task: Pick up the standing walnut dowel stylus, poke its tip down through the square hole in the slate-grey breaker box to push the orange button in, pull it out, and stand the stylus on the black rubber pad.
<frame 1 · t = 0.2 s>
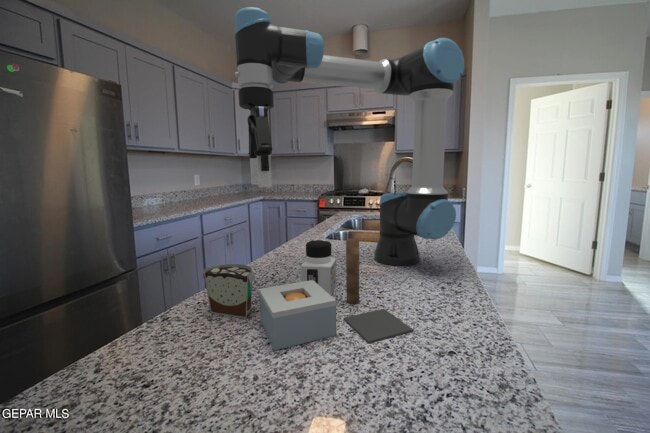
hand: (260, 185, 72), 28 cm above the countertop, fingers open, 13 cm apart
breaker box: (296, 327, 62), on the countertop
button: (295, 303, 62), point 5 cm above the countertop, slide at 0.0 cm
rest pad: (376, 325, 63), on the countertop
container: (319, 290, 82), on the countertop
stylus: (352, 301, 74), on the countertop
food container: (236, 310, 71), on the countertop
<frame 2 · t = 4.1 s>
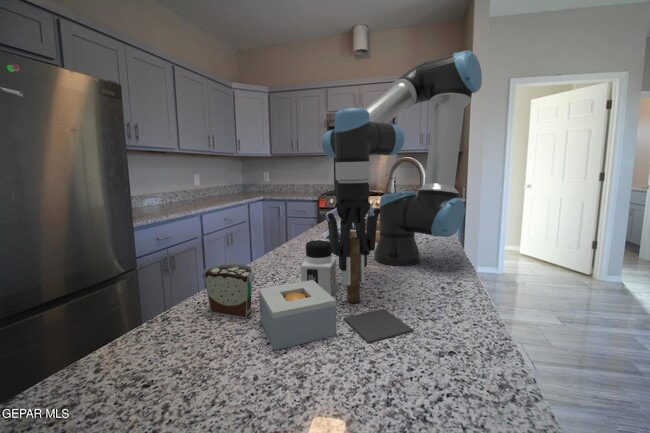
hand: (353, 281, 73), 5 cm above the countertop, fingers closed on stylus, 3 cm apart
stylus: (353, 300, 74), on the countertop, touching gripper
everything else where it was.
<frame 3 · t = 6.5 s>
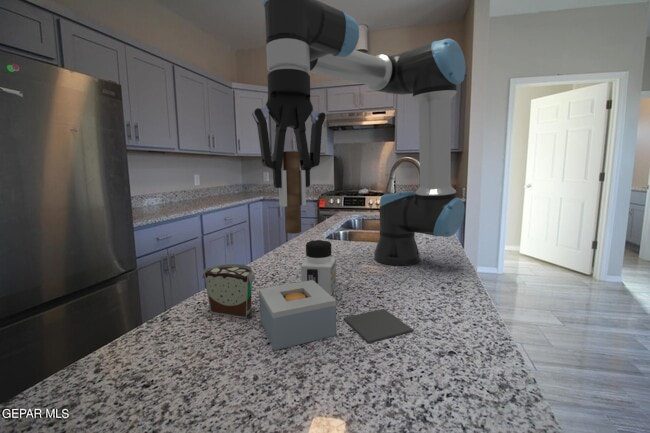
hand: (292, 204, 59), 25 cm above the countertop, fingers closed on stylus, 3 cm apart
stylus: (293, 231, 59), point 19 cm above the countertop, touching gripper
everything else where it was.
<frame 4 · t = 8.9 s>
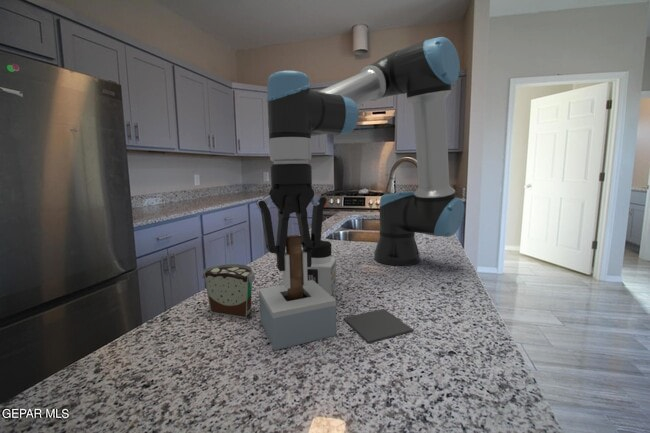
hand: (295, 284, 61), 9 cm above the countertop, fingers closed on stylus, 3 cm apart
button: (296, 318, 62), point 2 cm above the countertop, slide at 3.0 cm
stylus: (295, 310, 62), point 4 cm above the countertop, touching gripper
everything else where it was.
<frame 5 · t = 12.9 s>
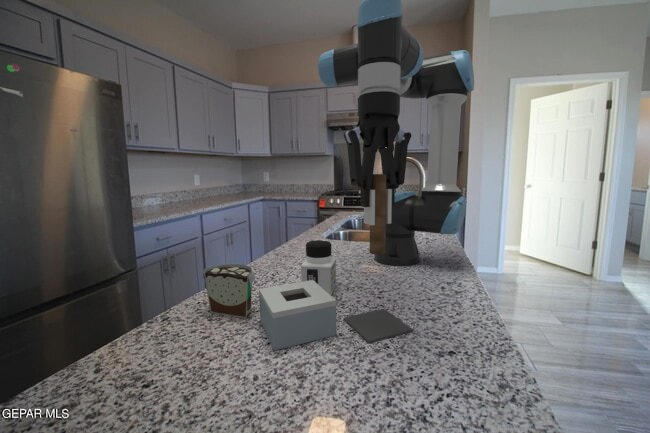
hand: (377, 223, 59), 21 cm above the countertop, fingers closed on stylus, 3 cm apart
stylus: (377, 252, 60), point 15 cm above the countertop, touching gripper
everything else where it was.
when the fingers open (6 cm above the countertop, at t = 15.7 s): stylus stays where it is, resting on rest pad.
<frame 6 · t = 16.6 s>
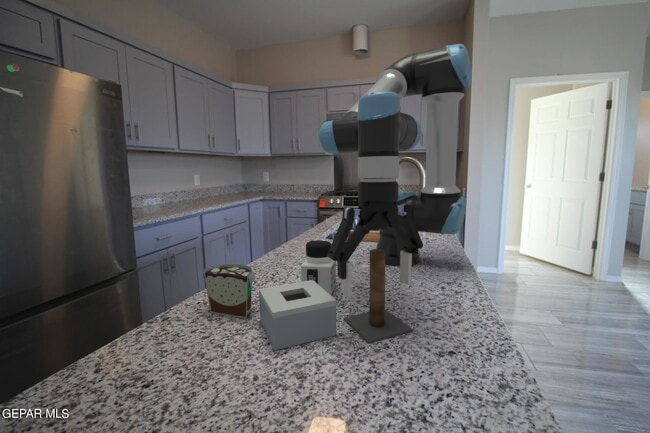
hand: (377, 288, 62), 8 cm above the countertop, fingers open, 13 cm apart
stylus: (376, 323, 63), resting on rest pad
everything else where it was.
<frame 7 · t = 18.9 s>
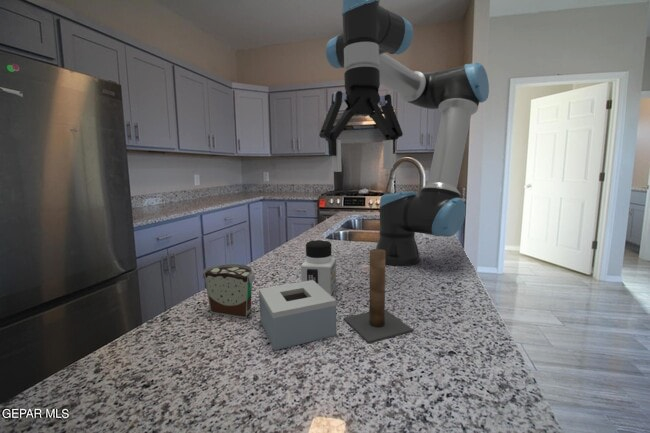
hand: (363, 170, 70), 31 cm above the countertop, fingers open, 13 cm apart
nothing on the countertop moved.
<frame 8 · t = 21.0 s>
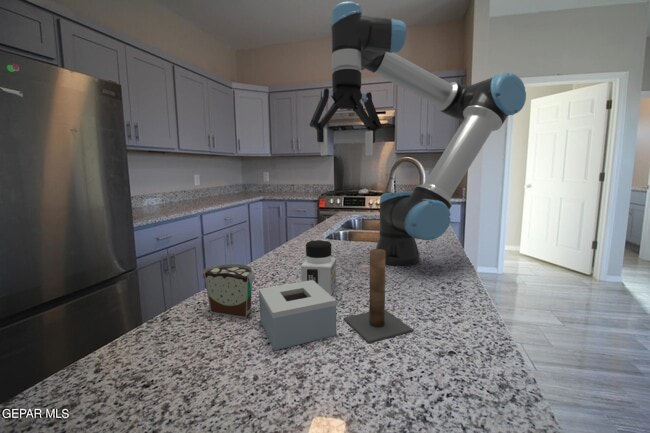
hand: (347, 155, 84), 35 cm above the countertop, fingers open, 13 cm apart
nothing on the countertop moved.
at the end: button slide at 3.1 cm; stylus inside the target area (0.1 cm from its centre), resting on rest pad; the gripper is holding nothing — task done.
